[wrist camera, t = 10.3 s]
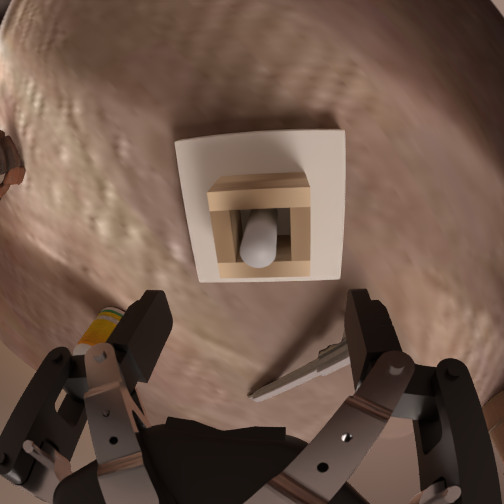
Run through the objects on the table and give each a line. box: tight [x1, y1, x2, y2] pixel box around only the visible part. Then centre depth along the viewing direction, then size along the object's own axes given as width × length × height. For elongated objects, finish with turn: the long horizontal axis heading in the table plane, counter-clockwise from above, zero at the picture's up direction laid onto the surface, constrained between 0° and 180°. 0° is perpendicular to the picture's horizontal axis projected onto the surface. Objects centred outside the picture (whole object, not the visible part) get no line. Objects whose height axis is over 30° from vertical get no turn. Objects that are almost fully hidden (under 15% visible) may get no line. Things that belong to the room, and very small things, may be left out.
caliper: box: [248, 330, 351, 402], centre depth 28 cm, size 20×1×6 cm, turn 146°
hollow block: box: [207, 172, 311, 278], centre depth 19 cm, size 6×6×4 cm
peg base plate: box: [175, 129, 345, 282], centre depth 19 cm, size 12×12×8 cm
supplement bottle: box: [73, 307, 125, 355], centre depth 27 cm, size 5×5×10 cm
